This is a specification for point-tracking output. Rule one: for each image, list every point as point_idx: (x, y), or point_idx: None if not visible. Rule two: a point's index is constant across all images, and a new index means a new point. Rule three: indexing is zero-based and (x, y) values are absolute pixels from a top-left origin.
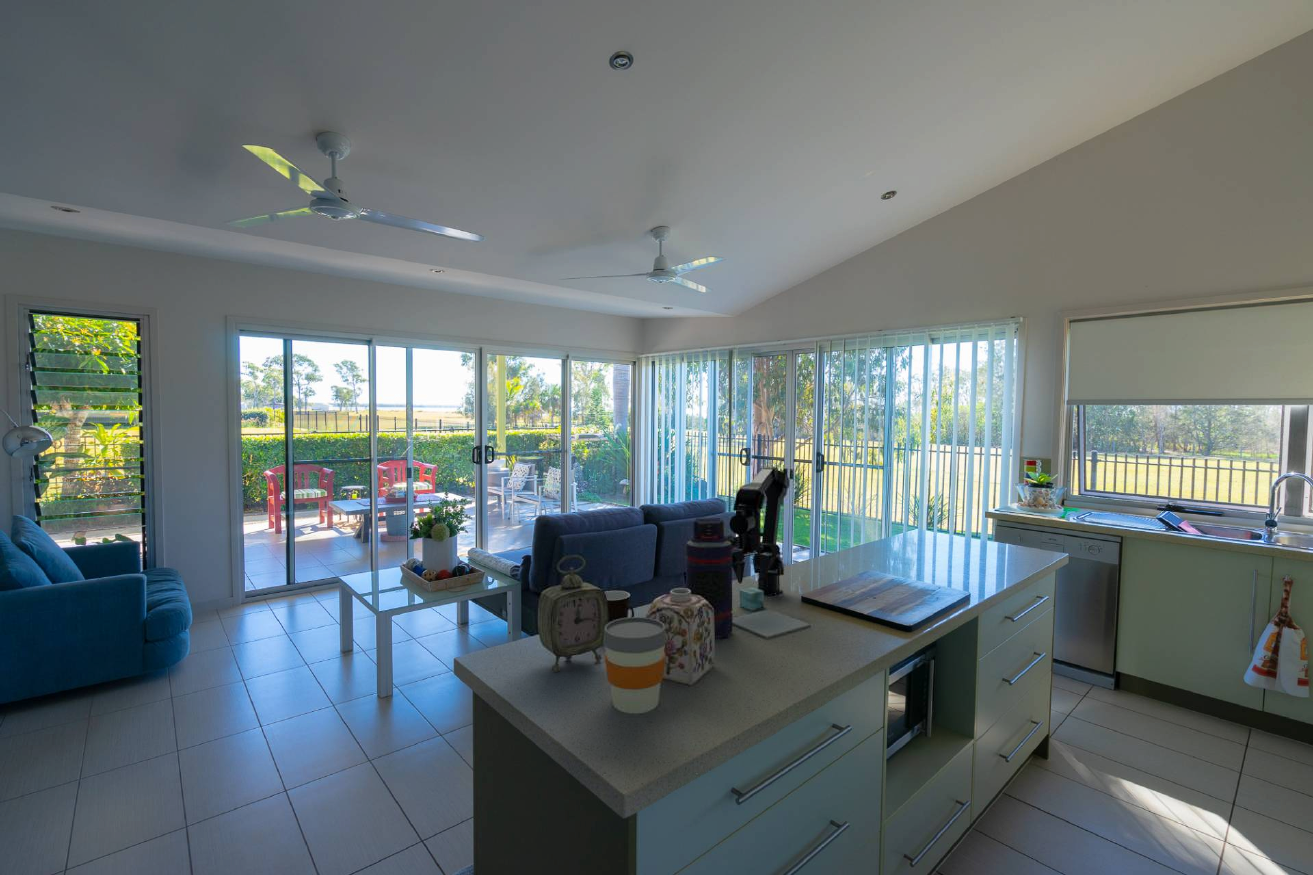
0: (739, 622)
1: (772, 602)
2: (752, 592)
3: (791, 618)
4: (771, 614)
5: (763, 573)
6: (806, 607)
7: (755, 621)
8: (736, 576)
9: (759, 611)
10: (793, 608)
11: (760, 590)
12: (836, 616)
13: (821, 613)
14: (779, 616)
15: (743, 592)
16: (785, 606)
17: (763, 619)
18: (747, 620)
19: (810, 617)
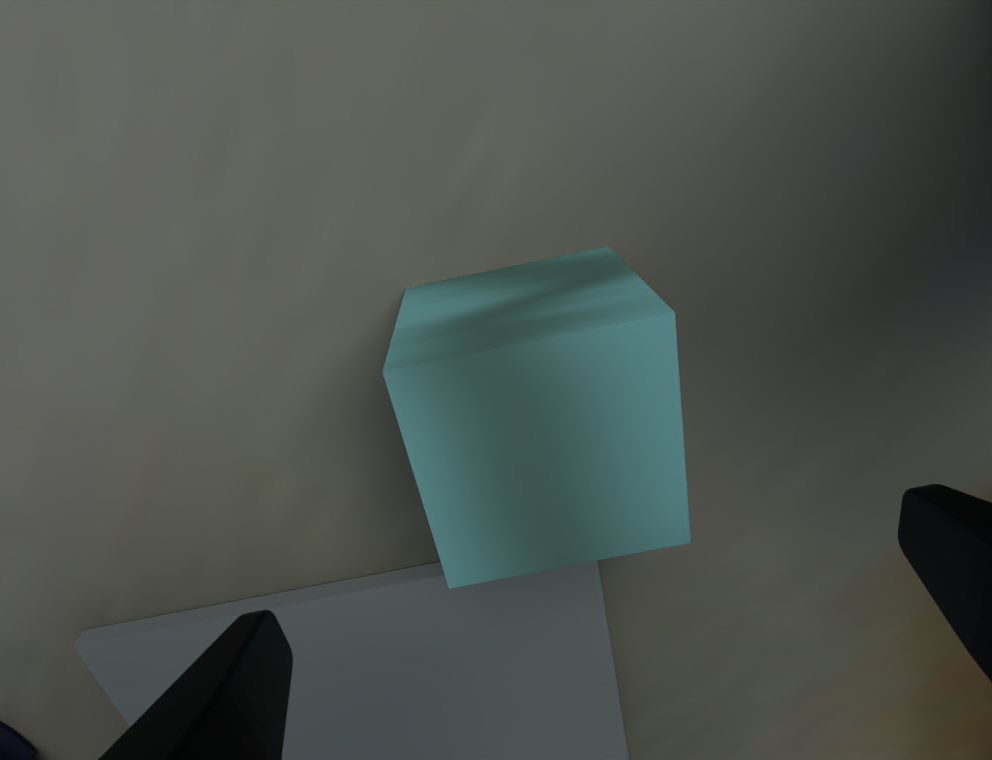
0: None
1: (834, 315)
2: (503, 550)
3: (611, 755)
4: (528, 658)
5: (986, 631)
6: None
7: (313, 735)
8: (130, 753)
9: None
10: (849, 541)
11: (670, 510)
12: (943, 753)
13: (920, 689)
14: (558, 706)
15: (408, 447)
16: (837, 473)
17: (398, 719)
18: None
19: (779, 724)
